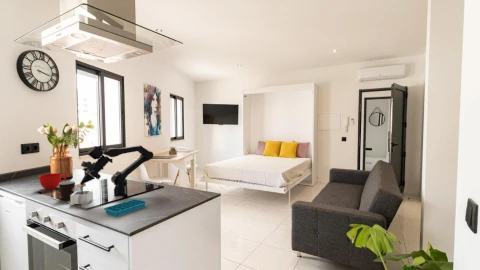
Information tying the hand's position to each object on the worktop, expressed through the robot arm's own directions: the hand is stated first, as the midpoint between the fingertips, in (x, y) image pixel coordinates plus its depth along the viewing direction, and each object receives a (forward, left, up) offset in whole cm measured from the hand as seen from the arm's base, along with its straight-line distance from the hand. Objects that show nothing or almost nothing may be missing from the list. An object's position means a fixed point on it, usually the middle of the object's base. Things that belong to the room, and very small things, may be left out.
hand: (80, 184), depth 148 cm
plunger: (0, 0, -8) cm, 8 cm away
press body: (0, +1, -11) cm, 11 cm away
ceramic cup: (+34, -42, -12) cm, 55 cm away
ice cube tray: (-30, +20, -12) cm, 38 cm away
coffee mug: (+12, -13, -12) cm, 21 cm away
